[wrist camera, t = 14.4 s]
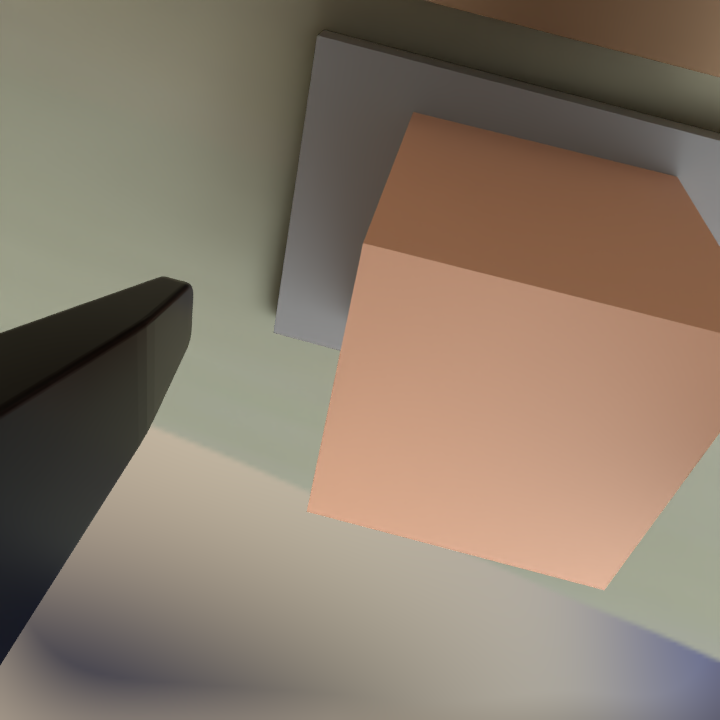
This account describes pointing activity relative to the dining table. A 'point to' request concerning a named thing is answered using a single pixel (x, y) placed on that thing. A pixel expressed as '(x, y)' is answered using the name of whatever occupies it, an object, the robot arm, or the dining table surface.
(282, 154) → the dining table surface
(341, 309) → the grey pad
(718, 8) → the walnut board
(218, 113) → the dining table surface
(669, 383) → the terracotta block
